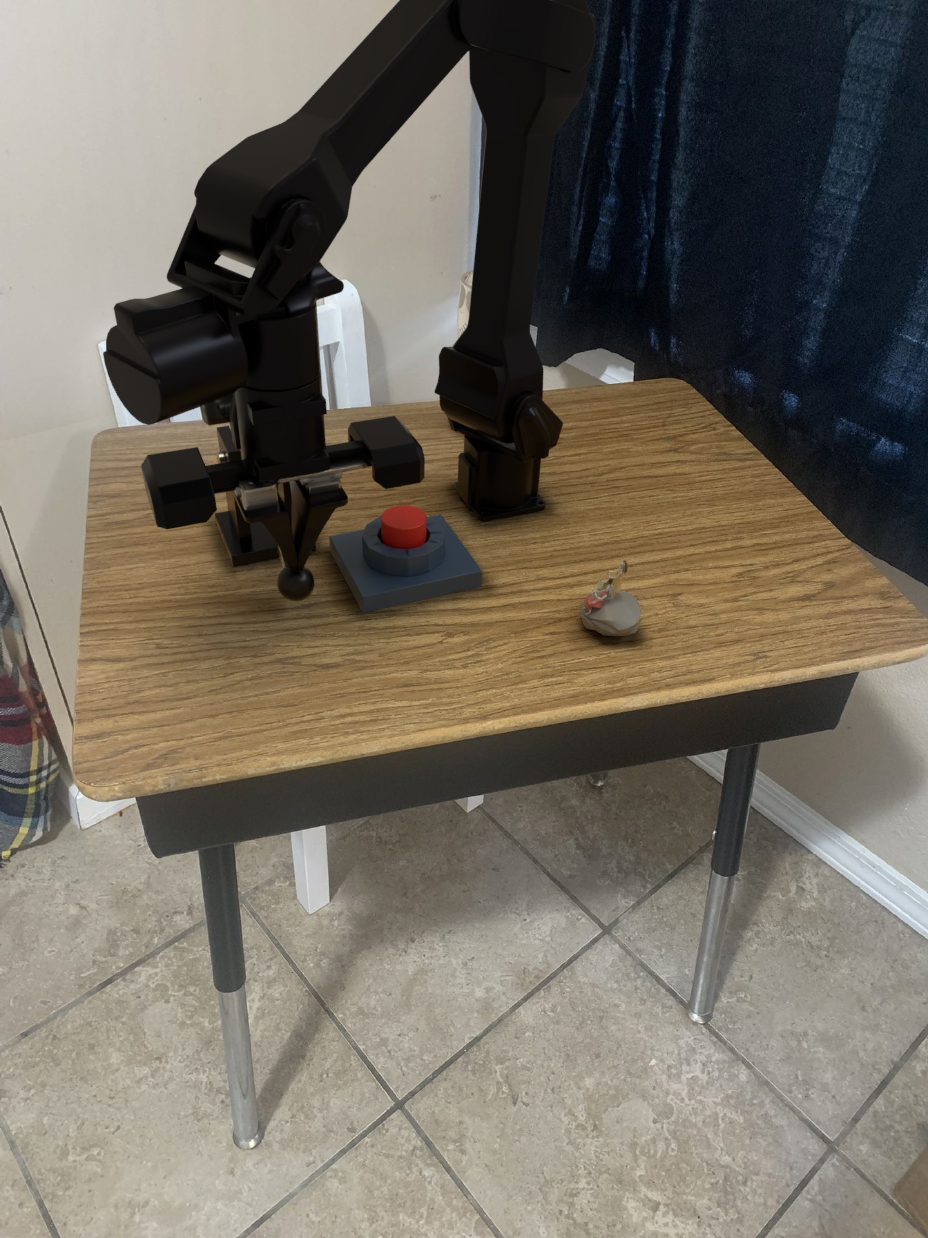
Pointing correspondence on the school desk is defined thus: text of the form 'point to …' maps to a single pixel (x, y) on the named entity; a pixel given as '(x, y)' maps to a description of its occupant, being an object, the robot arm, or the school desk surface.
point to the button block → (403, 566)
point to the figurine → (611, 607)
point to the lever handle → (294, 580)
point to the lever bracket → (237, 534)
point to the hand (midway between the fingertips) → (295, 568)
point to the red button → (403, 527)
